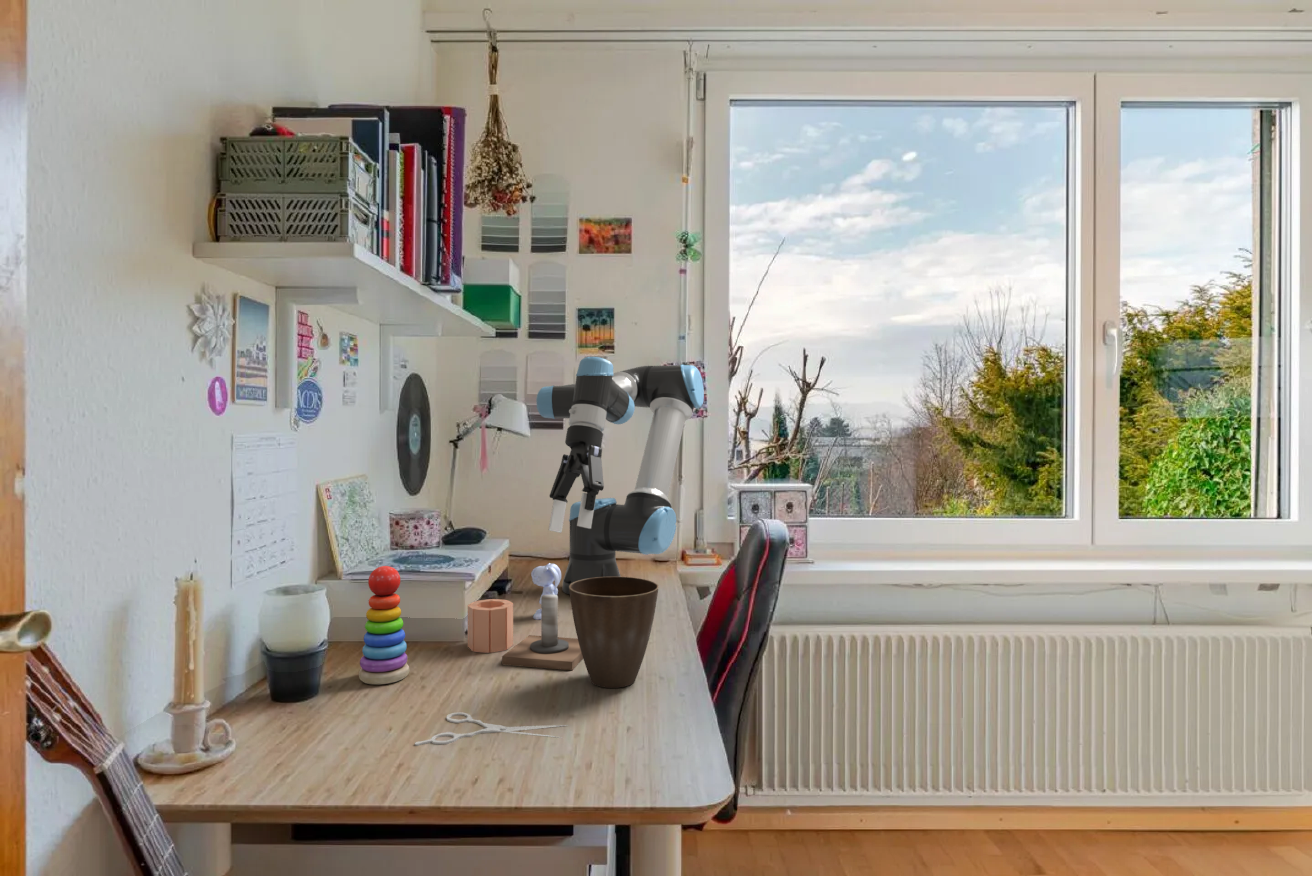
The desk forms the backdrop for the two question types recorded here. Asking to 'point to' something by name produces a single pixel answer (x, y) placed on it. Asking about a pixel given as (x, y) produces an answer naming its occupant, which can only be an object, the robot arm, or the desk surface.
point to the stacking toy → (384, 631)
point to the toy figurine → (546, 581)
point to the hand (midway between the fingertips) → (568, 529)
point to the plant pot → (613, 626)
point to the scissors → (488, 729)
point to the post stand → (546, 644)
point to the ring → (490, 625)
